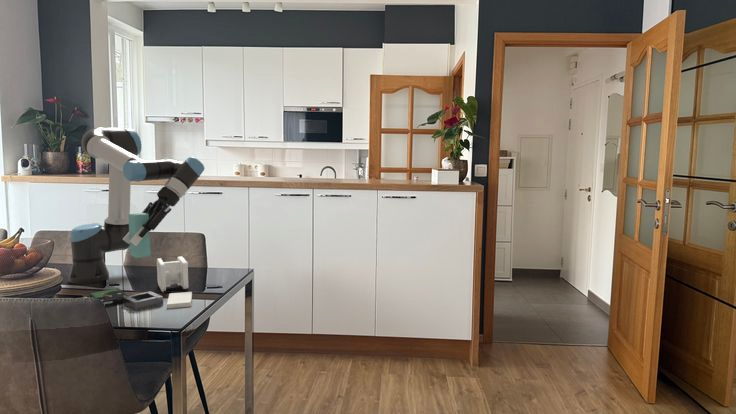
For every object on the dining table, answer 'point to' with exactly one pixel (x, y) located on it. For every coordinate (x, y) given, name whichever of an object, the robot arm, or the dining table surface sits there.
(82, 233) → the robot arm
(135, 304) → the socket block
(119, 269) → the dining table surface
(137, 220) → the teal peg
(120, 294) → the disk drive
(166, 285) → the cable organizer
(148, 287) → the dining table surface
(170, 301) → the off-white pad
